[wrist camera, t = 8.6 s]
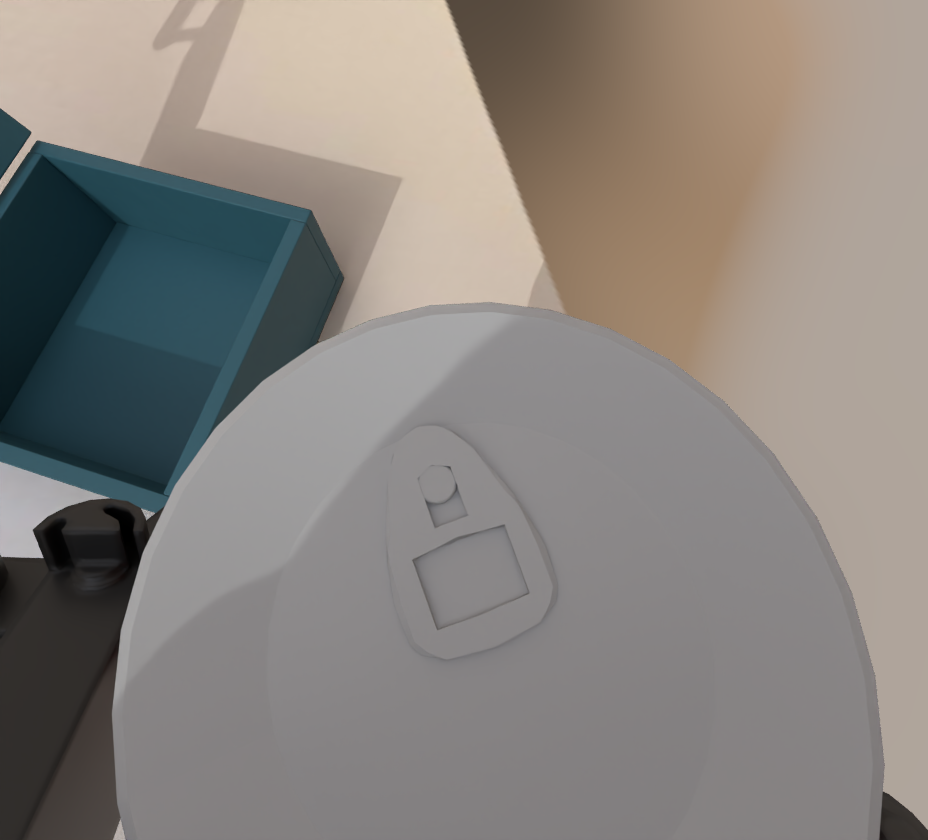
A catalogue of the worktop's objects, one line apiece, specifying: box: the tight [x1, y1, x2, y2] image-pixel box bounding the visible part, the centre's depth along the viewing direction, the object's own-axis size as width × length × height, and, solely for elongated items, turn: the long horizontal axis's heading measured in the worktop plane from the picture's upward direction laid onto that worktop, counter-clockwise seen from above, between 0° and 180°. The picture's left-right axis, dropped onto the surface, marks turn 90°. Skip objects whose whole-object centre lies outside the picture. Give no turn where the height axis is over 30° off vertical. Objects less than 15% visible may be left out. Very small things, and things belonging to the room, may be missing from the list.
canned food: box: [112, 302, 885, 840], centre depth 10 cm, size 8×8×11 cm
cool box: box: [0, 141, 344, 513], centre depth 28 cm, size 18×18×7 cm
